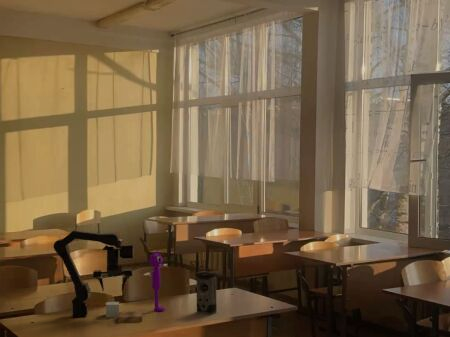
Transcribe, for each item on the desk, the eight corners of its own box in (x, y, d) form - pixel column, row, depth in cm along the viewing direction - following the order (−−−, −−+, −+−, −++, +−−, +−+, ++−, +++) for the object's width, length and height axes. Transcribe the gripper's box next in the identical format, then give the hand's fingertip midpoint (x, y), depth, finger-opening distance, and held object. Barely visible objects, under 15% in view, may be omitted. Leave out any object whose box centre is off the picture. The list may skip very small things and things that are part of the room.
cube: (106, 317, 296) (106, 305, 296) (106, 314, 301) (106, 302, 301) (118, 316, 297) (118, 304, 297) (118, 313, 302) (118, 301, 302)
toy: (153, 319, 291) (153, 256, 291) (138, 318, 292) (137, 255, 292) (174, 303, 324) (173, 247, 325) (160, 303, 326) (159, 246, 326)
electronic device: (195, 312, 303) (195, 272, 303) (201, 310, 308) (201, 270, 308) (211, 314, 298) (211, 273, 299) (217, 312, 304) (217, 272, 304)
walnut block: (118, 323, 285) (118, 317, 285) (118, 318, 295) (118, 312, 295) (142, 322, 286) (142, 316, 286) (141, 317, 296) (141, 311, 296)
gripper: (92, 262, 290) (92, 295, 290) (132, 260, 293) (132, 293, 293) (93, 258, 301) (93, 290, 301) (131, 257, 304) (131, 288, 304)
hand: (112, 290), depth 299 cm, fingers open, 9 cm apart
